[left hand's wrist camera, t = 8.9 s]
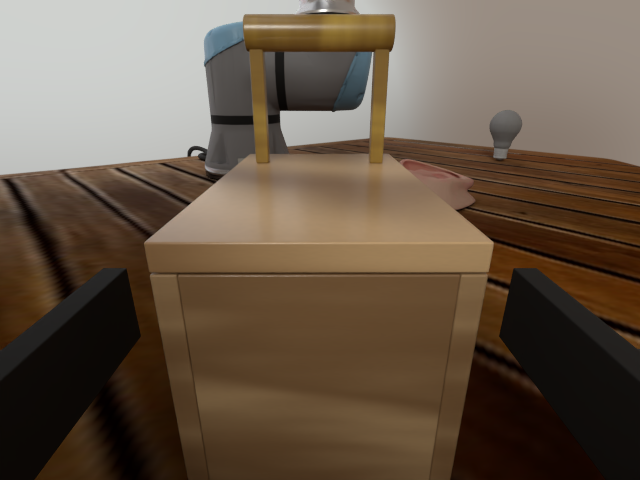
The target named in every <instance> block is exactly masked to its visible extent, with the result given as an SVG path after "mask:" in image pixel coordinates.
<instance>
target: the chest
mask: <svg viewBox="0 0 640 480" xmlns="http://www.w3.org/2000/svg"><path fill="white" fill-rule="evenodd" d="M487 278H488V276H487V274H486V273H152V274H151V275H150V279H151V285H152V290H153V295H154V301H155V306H156V311H157V317H158V322H159V327H160V333H161V338H162V343H163V349H164V354H165V359H166V365H167V370H168V375H169V381H170V386H171V391H172V397H173V402H174V407H175V413H176V418H177V423H178V429H179V434H180V439H181V445H182V450H183V455H184V461H185V466H186V471H187V477H188V480H450V478H451V473H452V467H453V462H454V456H455V451H456V446H457V440H458V435H459V429H460V424H461V418H462V413H463V408H464V402H465V397H466V391H467V386H468V381H469V375H470V370H471V364H472V359H473V353H474V348H475V343H476V337H477V332H478V326H479V321H480V315H481V310H482V305H483V299H484V294H485V288H486V283H487Z"/></svg>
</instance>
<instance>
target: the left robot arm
mask: <svg viewBox="0 0 640 480" xmlns="http://www.w3.org/2000/svg"><path fill="white" fill-rule="evenodd" d="M140 337H141V335H140V330H139V326H138V321H137V316H136V312H135V307H134V302H133V298H132V293H131V288H130V283H129V279H128V274H127V269H126V268H103V269H102V270H101V271H100V272H98V273H97V274H96V275H95V276H93V277H92V278H91V279H90V280H88V281H87V282H86V283H85V284H83V285H82V286H81V287H80V288H78V289H77V290H76V291H75V292H73V293H72V294H71V295H70V296H68V297H67V298H66V299H65V300H63V301H62V302H61V303H60V304H58V305H57V306H56V307H55V308H53V309H52V310H51V311H50V312H48V313H47V314H46V315H45V316H44V317H42V318H41V319H40V320H39V321H37V322H36V323H35V324H34V325H32V326H31V327H30V328H29V329H27V330H26V331H25V332H24V333H22V334H21V335H20V336H19V337H17V338H16V339H15V340H14V341H12V342H11V343H10V344H9V345H7V346H6V347H5V348H4V349H2V350H0V480H34V479H35V478H36V477H37V475H38V474H39V473H40V471H41V470H42V469H43V467H44V466H45V464H46V463H47V462H48V460H49V459H50V458H51V456H52V455H53V454H54V452H55V451H56V450H57V448H58V447H59V446H60V444H61V443H62V442H63V440H64V439H65V438H66V436H67V435H68V434H69V432H70V431H71V429H72V428H73V427H74V425H75V424H76V423H77V421H78V420H79V419H80V417H81V416H82V415H83V413H84V412H85V411H86V409H87V408H88V407H89V405H90V404H91V403H92V401H93V400H94V399H95V397H96V396H97V394H98V393H99V392H100V390H101V389H102V388H103V386H104V385H105V384H106V382H107V381H108V380H109V378H110V377H111V376H112V374H113V373H114V372H115V370H116V369H117V368H118V366H119V365H120V364H121V362H122V361H123V359H124V358H125V357H126V355H127V354H128V353H129V351H130V350H131V349H132V347H133V346H134V345H135V343H136V342H137V341H138V339H139V338H140ZM499 337H500V338H501V339H502V341H503V342H504V343H505V345H506V346H507V347H508V349H509V350H510V351H511V353H512V354H513V355H514V357H515V358H516V359H517V361H518V362H519V364H520V365H521V366H522V368H523V369H524V370H525V372H526V373H527V374H528V376H529V377H530V378H531V380H532V381H533V382H534V384H535V385H536V386H537V388H538V389H539V390H540V392H541V393H542V394H543V396H544V397H545V399H546V400H547V401H548V403H549V404H550V405H551V407H552V408H553V409H554V411H555V412H556V413H557V415H558V416H559V417H560V419H561V420H562V421H563V423H564V424H565V425H566V427H567V428H568V429H569V431H570V432H571V434H572V435H573V436H574V438H575V439H576V440H577V442H578V443H579V444H580V446H581V447H582V448H583V450H584V451H585V452H586V454H587V455H588V456H589V458H590V459H591V460H592V462H593V463H594V464H595V466H596V467H597V469H598V470H599V471H600V473H601V474H602V475H603V477H604V478H605V479H606V480H640V349H636V348H635V347H634V346H633V345H631V344H630V343H629V342H628V341H626V340H625V339H624V338H623V337H621V336H620V335H619V334H618V333H616V332H615V331H614V330H613V329H611V328H610V327H609V326H608V325H606V324H605V323H604V322H603V321H601V320H600V319H599V318H598V317H596V316H595V315H594V314H593V313H591V312H590V311H589V310H588V309H587V308H585V307H584V306H583V305H582V304H580V303H579V302H578V301H577V300H575V299H574V298H573V297H572V296H570V295H569V294H568V293H567V292H565V291H564V290H563V289H562V288H560V287H559V286H558V285H557V284H555V283H554V282H553V281H552V280H550V279H549V278H548V277H547V276H545V275H544V274H543V273H542V272H540V271H539V270H538V269H537V268H514V269H513V274H512V279H511V283H510V288H509V293H508V298H507V302H506V307H505V312H504V316H503V321H502V326H501V330H500V335H499Z"/></svg>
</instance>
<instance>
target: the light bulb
mask: <svg viewBox="0 0 640 480" xmlns="http://www.w3.org/2000/svg"><path fill="white" fill-rule="evenodd" d="M521 127H522V120H521V118H520V116H519V115H518V114H517V113H516V112H514V111H511V110H505V111H501V112H499V113H498V114H496V115H495V116H494V117H493V119H492V120H491V122H490V132H491V135H492V137H493V140H494V147H495V148H494V152H495V153H494V155H493V157H494V158H496V159H497V160H503V159H505V158H507V157H506V156H507V155H506V154H507V152H508V148H509V147H510V146H511V143H512V141H513V139H514V138H515V137H516V136H517V134H518V133H519V132H520V130H521Z"/></svg>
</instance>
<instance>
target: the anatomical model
mask: <svg viewBox="0 0 640 480" xmlns="http://www.w3.org/2000/svg"><path fill="white" fill-rule="evenodd" d="M400 164H401V165H402V166H403V167H405V168H406V169H407V170H408V171H409V172H411V173H412V174H413V175H414V176H415V177H416V178H418V179H419V180H420V181H421V182H422V183H424V184H425V185H426V186H427V187H428V188H430V189H431V190H432V191H433V192H434V193H435V194H437V195H438V196H439V197H440V198H441V199H443V200H444V201H445V202H446V203H447V204H449V205H450V206H451V207H452V208H453V209H454V210H459V209H462V208H465V207H467V206H470V205H471V204H473V203H474V202H475V199H474V198H473V197H472V196H471V195H470V194H469V193H468V192H467V190H468V189H469V188H470V187H472V186H473V183H474V181H473V180H472V179H471V178H468V177H465V176H463V175H460V174H457V173H455V172H452V171H449V170H446V169H443V168H440V167H436V166H433V165H430V164H426V163H423V162H419V161H415V160H409V159H404V160H402V161H400Z"/></svg>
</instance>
